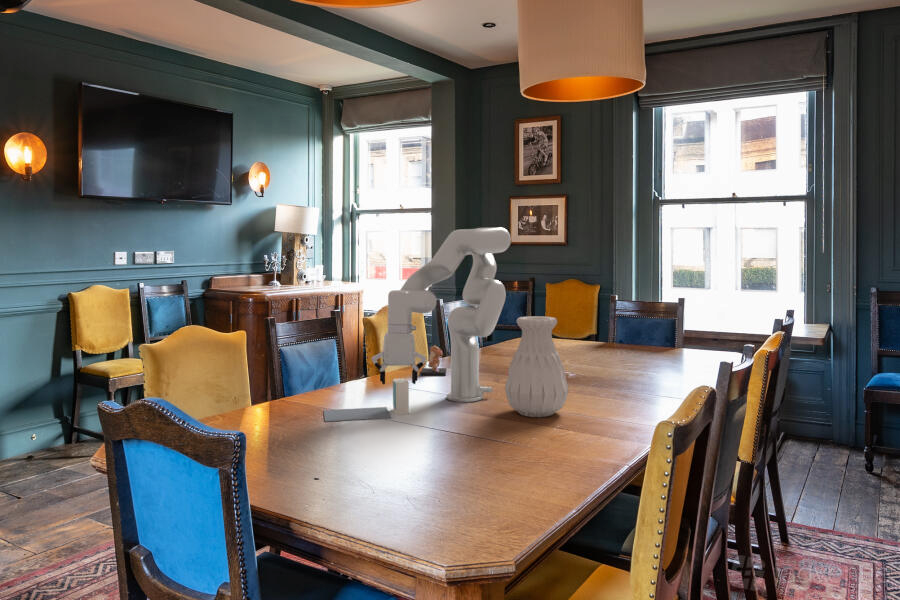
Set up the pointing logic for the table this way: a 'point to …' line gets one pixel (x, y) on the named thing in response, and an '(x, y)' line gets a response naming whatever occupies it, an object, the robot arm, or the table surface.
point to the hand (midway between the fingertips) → (398, 383)
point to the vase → (536, 370)
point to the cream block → (401, 396)
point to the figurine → (434, 363)
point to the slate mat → (356, 414)
